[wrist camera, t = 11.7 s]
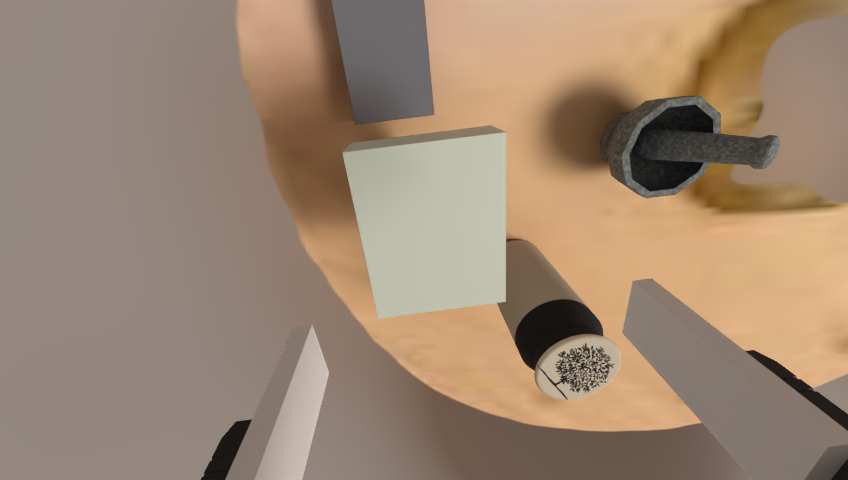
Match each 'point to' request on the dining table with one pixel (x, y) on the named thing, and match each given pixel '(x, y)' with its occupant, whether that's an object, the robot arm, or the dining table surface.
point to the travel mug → (554, 327)
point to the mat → (385, 58)
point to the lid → (432, 218)
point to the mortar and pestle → (676, 145)
